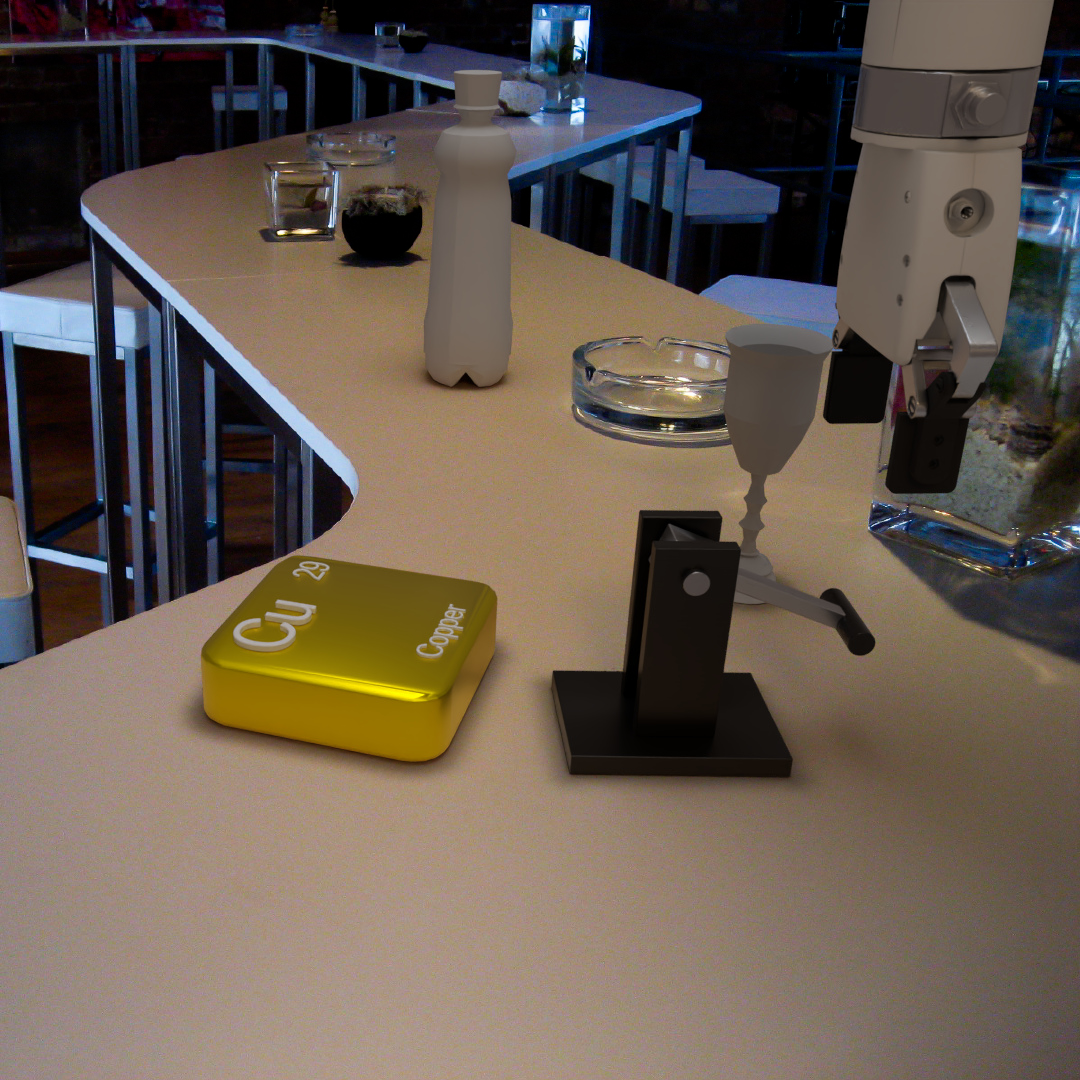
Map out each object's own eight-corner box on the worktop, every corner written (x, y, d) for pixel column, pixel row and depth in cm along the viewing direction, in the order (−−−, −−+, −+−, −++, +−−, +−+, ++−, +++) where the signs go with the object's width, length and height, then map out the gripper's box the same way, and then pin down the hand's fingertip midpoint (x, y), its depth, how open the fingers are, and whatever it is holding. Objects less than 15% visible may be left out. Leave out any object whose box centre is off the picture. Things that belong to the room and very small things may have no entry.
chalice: (800, 615, 85) (844, 358, 78) (697, 607, 86) (730, 353, 79) (784, 567, 92) (824, 326, 84) (689, 560, 93) (719, 321, 85)
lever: (831, 620, 73) (853, 585, 72) (861, 667, 68) (886, 631, 67) (642, 547, 71) (662, 511, 70) (660, 590, 66) (682, 552, 65)
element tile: (439, 771, 69) (441, 697, 67) (191, 722, 74) (186, 651, 72) (501, 641, 82) (505, 576, 80) (287, 606, 87) (285, 543, 84)
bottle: (510, 392, 127) (527, 77, 115) (420, 389, 128) (426, 76, 115) (509, 365, 136) (525, 68, 123) (425, 362, 136) (432, 67, 124)
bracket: (748, 689, 77) (778, 496, 71) (790, 777, 69) (827, 567, 63) (551, 686, 77) (565, 494, 72) (569, 774, 69) (587, 565, 64)
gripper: (1122, 131, 50) (1033, 523, 57) (949, 86, 66) (896, 399, 73) (931, 134, 50) (867, 524, 58) (803, 89, 66) (765, 400, 73)
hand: (883, 454), depth 65 cm, fingers open, 9 cm apart
